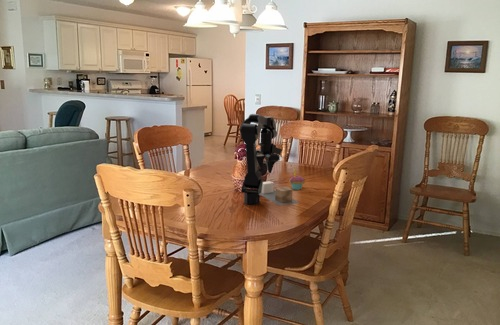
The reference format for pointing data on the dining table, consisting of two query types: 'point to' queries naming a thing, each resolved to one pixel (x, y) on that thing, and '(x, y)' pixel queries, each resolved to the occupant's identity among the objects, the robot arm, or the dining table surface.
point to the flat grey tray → (272, 193)
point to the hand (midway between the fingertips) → (265, 171)
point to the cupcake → (296, 181)
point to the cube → (283, 194)
